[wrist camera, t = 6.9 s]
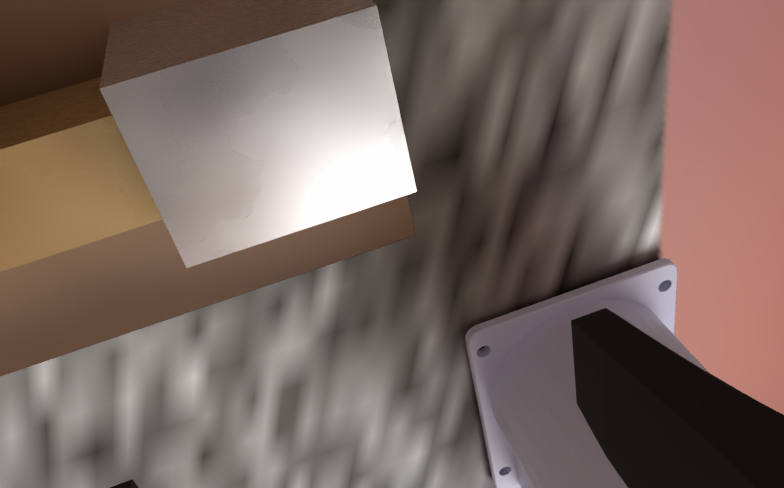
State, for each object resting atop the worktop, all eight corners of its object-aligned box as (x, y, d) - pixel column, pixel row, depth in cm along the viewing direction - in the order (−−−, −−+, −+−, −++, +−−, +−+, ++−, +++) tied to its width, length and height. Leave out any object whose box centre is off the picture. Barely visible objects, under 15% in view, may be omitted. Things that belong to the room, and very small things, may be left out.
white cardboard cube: (370, 117, 18) (416, 191, 15) (180, 178, 18) (186, 268, 14) (331, -42, 16) (376, 5, 12) (110, 22, 15) (99, 88, 12)
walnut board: (406, 217, 21) (416, 234, 20) (-98, 387, 20) (-109, 413, 19) (294, -261, 14) (303, -264, 13) (-507, -58, 13) (-552, -47, 12)
